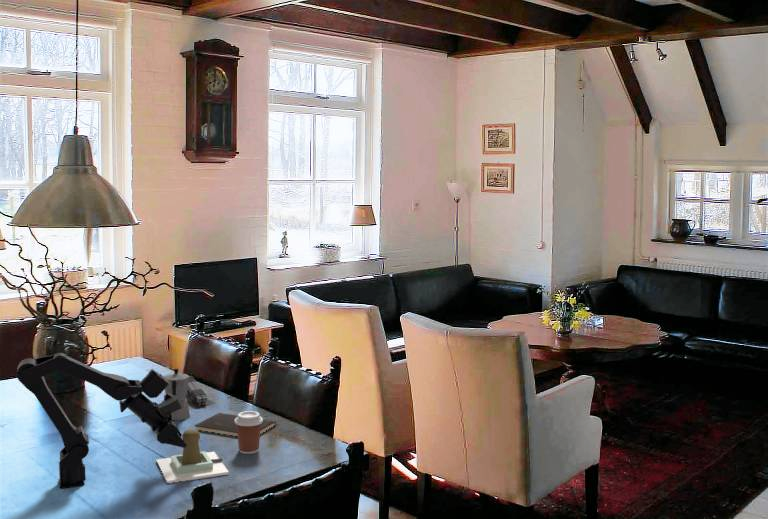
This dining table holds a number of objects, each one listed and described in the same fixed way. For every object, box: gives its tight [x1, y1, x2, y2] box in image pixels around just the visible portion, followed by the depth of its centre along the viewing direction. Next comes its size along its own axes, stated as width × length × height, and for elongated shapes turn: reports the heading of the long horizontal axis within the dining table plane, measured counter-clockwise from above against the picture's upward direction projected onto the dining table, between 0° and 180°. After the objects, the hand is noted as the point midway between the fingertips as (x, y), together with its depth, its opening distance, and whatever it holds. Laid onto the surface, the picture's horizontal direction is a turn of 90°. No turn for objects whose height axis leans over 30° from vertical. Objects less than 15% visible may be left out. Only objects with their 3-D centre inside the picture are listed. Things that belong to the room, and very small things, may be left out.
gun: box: [186, 375, 208, 406], centre depth 315 cm, size 4×20×10 cm, turn 31°
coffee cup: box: [234, 410, 263, 455], centre depth 261 cm, size 9×9×12 cm
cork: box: [181, 428, 201, 466], centre depth 245 cm, size 6×6×11 cm
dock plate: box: [155, 450, 230, 484], centre depth 246 cm, size 18×18×3 cm
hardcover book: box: [193, 412, 277, 437], centre depth 283 cm, size 16×23×2 cm
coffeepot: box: [164, 368, 191, 422], centre depth 291 cm, size 15×9×18 cm, turn 9°
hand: (183, 441), depth 244 cm, fingers open, 9 cm apart
